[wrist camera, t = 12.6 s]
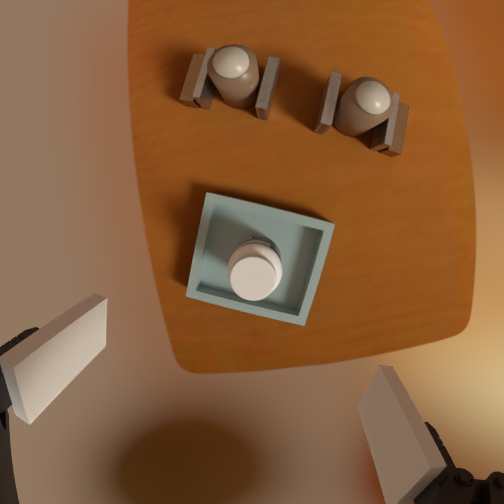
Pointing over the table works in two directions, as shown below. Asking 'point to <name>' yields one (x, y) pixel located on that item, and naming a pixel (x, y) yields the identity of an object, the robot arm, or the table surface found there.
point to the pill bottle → (255, 268)
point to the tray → (273, 227)
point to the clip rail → (202, 92)
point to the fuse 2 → (363, 106)
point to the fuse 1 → (235, 75)
